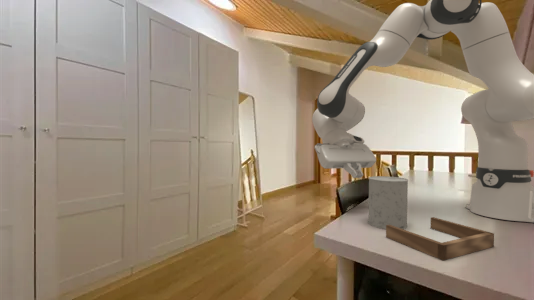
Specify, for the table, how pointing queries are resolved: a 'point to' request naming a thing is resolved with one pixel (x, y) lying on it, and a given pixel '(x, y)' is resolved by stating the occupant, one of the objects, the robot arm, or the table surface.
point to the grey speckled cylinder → (388, 201)
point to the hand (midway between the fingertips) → (358, 176)
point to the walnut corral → (466, 244)
